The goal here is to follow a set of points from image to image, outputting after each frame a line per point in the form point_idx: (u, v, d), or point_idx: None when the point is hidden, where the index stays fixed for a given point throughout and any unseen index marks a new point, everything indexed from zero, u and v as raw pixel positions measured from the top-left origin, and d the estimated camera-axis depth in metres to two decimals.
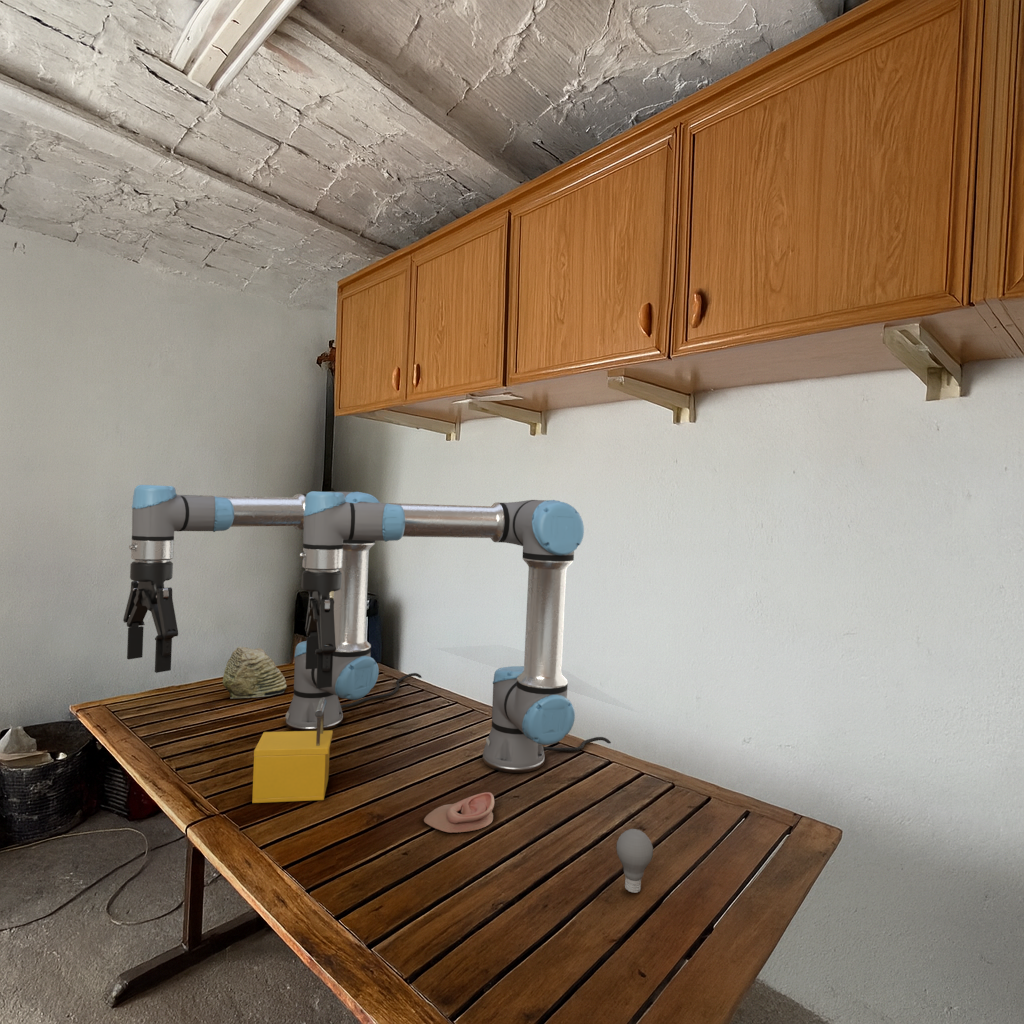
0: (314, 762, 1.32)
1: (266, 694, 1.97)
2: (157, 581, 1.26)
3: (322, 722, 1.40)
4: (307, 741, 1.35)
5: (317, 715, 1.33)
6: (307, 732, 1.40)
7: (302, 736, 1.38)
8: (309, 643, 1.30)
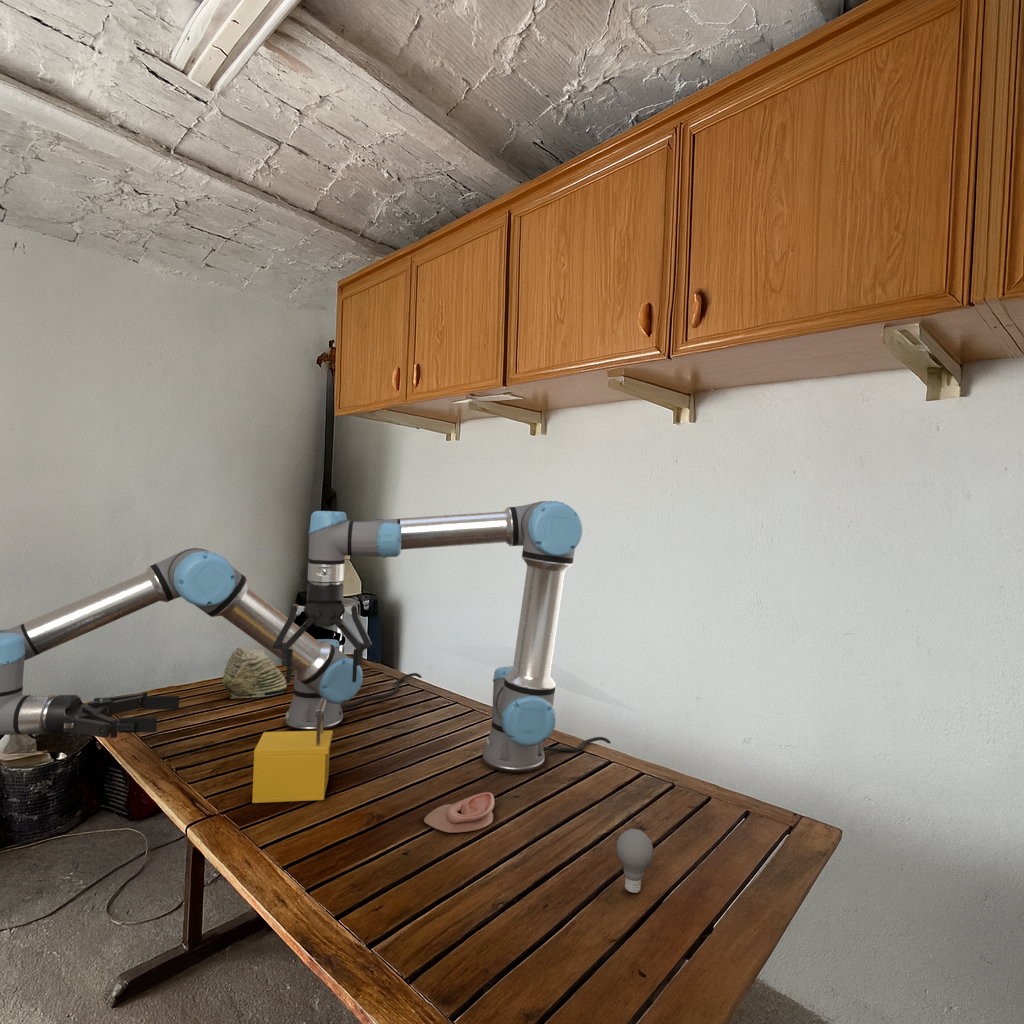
0: (314, 762, 1.32)
1: (266, 694, 1.97)
2: None
3: (322, 722, 1.40)
4: (307, 741, 1.35)
5: (317, 715, 1.33)
6: (307, 732, 1.40)
7: (302, 736, 1.38)
8: (291, 657, 1.35)
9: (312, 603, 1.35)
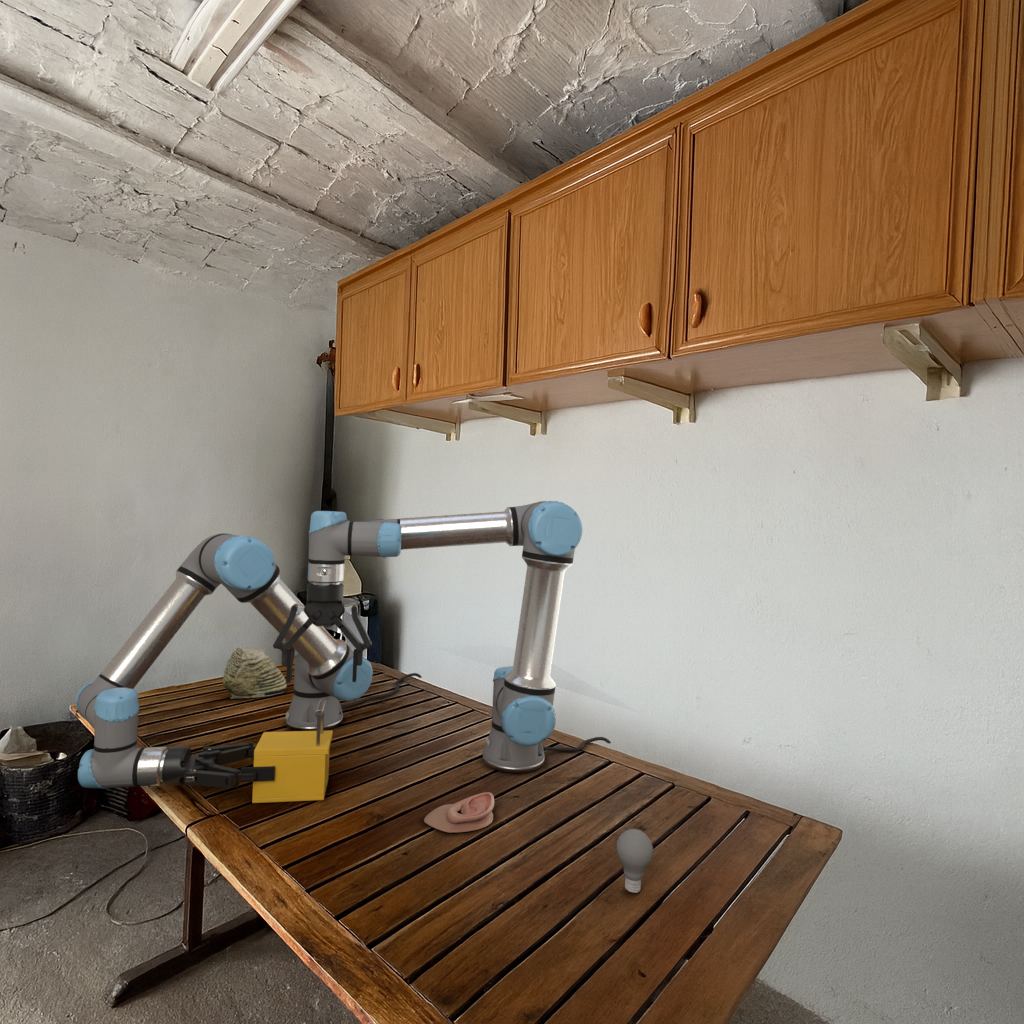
0: (314, 762, 1.32)
1: (266, 694, 1.97)
2: (180, 774, 1.28)
3: (322, 722, 1.40)
4: (307, 741, 1.35)
5: (317, 715, 1.33)
6: (307, 732, 1.40)
7: (302, 736, 1.38)
8: (291, 657, 1.35)
9: (312, 603, 1.35)
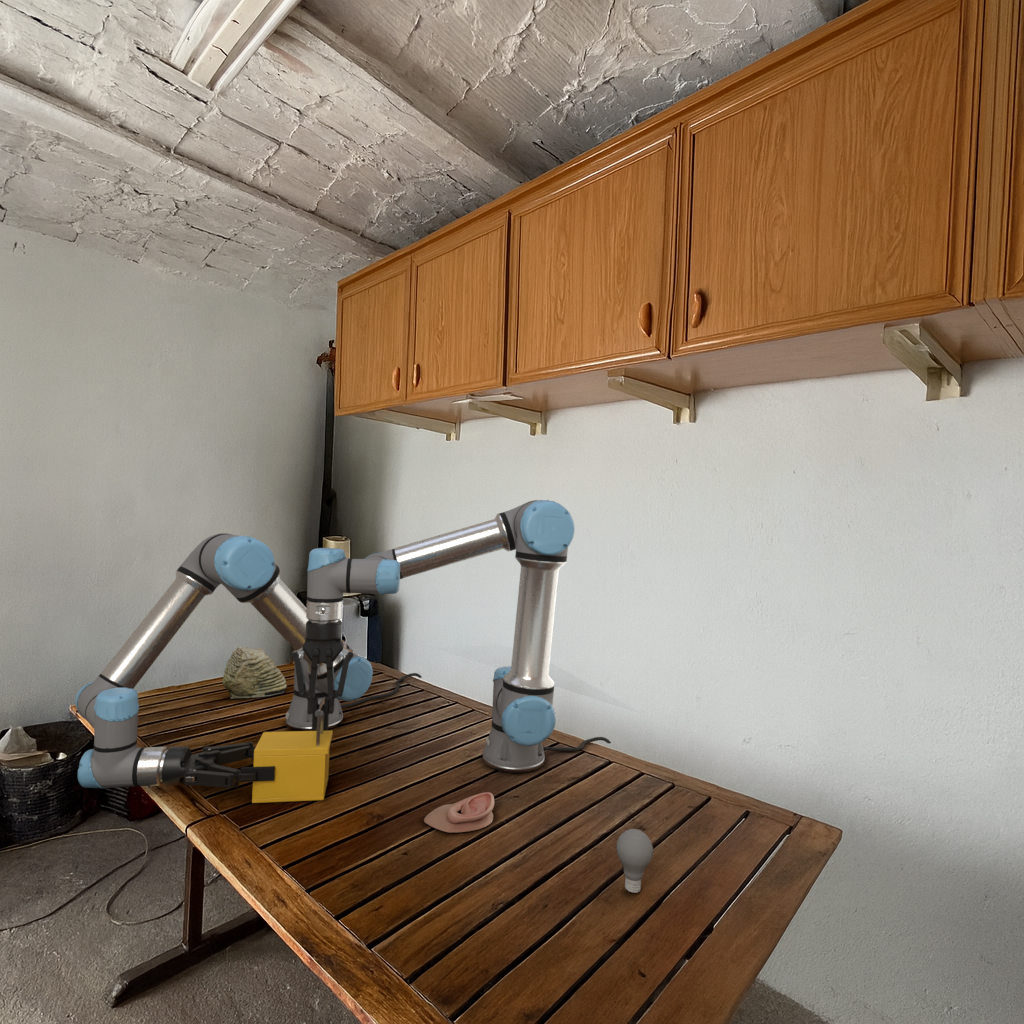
0: (314, 762, 1.32)
1: (266, 694, 1.97)
2: (180, 774, 1.28)
3: (322, 722, 1.40)
4: (307, 741, 1.35)
5: (317, 715, 1.33)
6: (307, 732, 1.40)
7: (302, 736, 1.38)
8: (316, 705, 1.36)
9: (311, 641, 1.35)
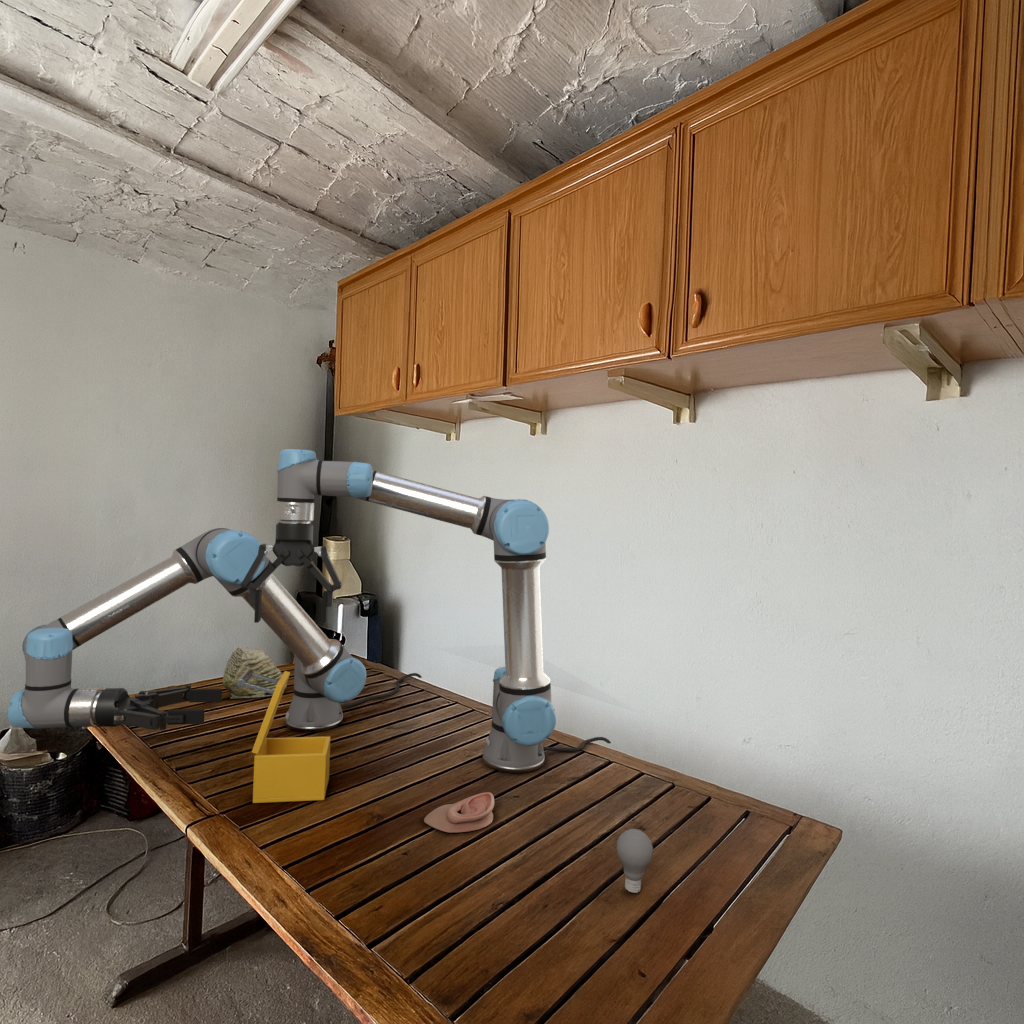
0: (314, 762, 1.32)
1: (266, 694, 1.97)
2: (114, 714, 1.26)
3: (268, 679, 1.38)
4: None
5: (241, 685, 1.30)
6: None
7: None
8: (259, 597, 1.33)
9: (281, 542, 1.33)
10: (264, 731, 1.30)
